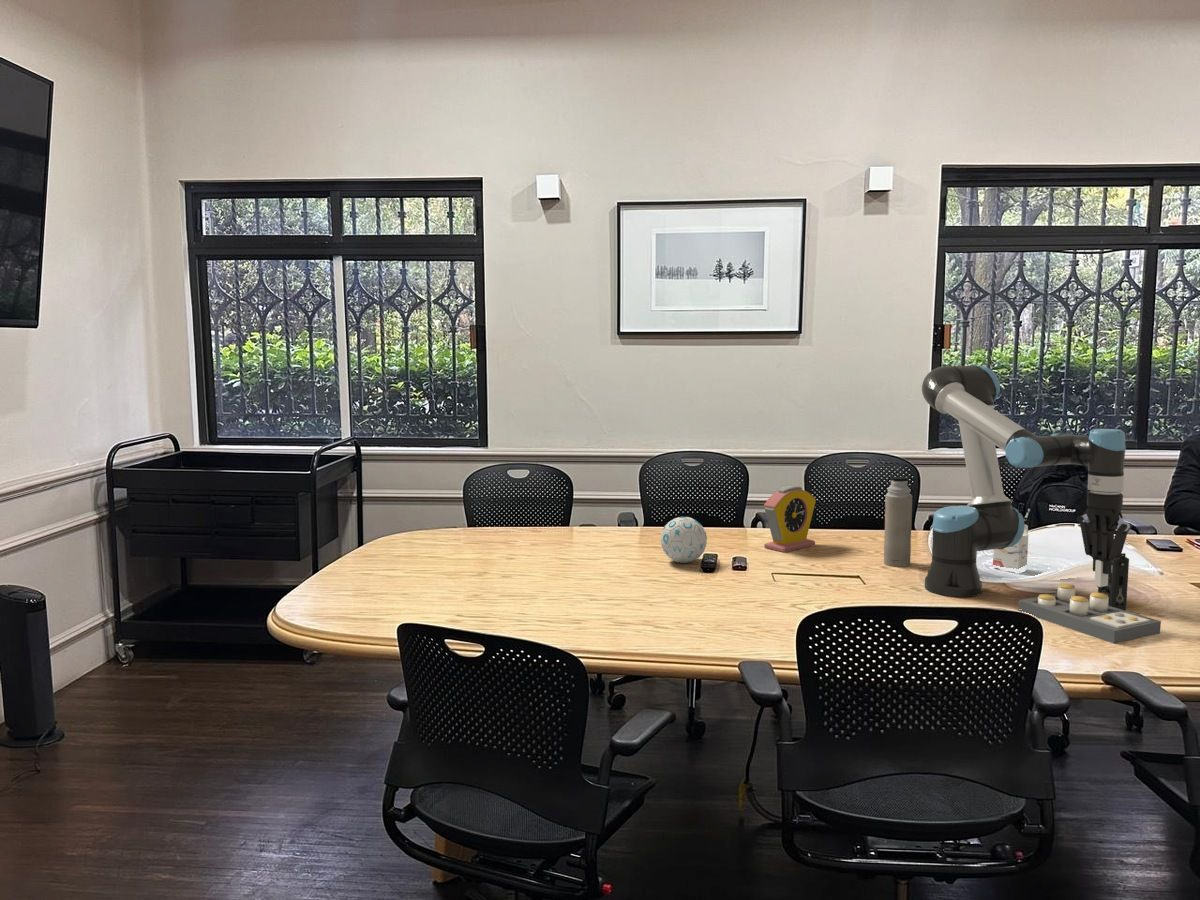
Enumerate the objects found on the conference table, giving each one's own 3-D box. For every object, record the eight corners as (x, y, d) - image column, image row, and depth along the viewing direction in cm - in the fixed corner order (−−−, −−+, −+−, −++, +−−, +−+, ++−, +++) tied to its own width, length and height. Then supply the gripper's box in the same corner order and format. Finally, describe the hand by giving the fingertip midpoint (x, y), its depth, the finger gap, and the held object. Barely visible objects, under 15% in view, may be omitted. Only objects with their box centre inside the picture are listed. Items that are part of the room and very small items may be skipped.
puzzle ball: (661, 556, 277) (661, 512, 276) (706, 556, 276) (706, 512, 274) (660, 567, 262) (660, 521, 261) (707, 568, 261) (707, 522, 259)
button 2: (1053, 599, 214) (1054, 584, 214) (1064, 597, 216) (1065, 582, 215) (1067, 604, 210) (1068, 588, 210) (1078, 602, 212) (1079, 586, 211)
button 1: (1033, 611, 212) (1034, 595, 211) (1044, 608, 213) (1045, 593, 213) (1047, 615, 208) (1048, 599, 208) (1058, 613, 210) (1059, 597, 209)
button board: (1018, 611, 213) (1019, 597, 213) (1062, 603, 219) (1062, 589, 219) (1113, 643, 189) (1114, 627, 189) (1160, 633, 195) (1161, 618, 195)
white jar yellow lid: (1065, 613, 203) (1066, 597, 203) (1076, 611, 205) (1077, 595, 204) (1080, 618, 200) (1081, 601, 199) (1091, 615, 201) (1092, 599, 201)
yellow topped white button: (1085, 609, 206) (1086, 593, 205) (1096, 607, 207) (1097, 591, 207) (1100, 614, 202) (1101, 597, 202) (1111, 612, 204) (1112, 595, 203)
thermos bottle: (879, 563, 262) (881, 477, 259) (890, 559, 268) (893, 474, 265) (903, 568, 257) (905, 480, 253) (914, 563, 262) (917, 477, 259)
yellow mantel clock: (778, 554, 277) (779, 491, 274) (758, 549, 284) (758, 488, 282) (820, 544, 290) (821, 484, 287) (799, 539, 297) (800, 481, 295)
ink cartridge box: (991, 568, 255) (993, 522, 253) (1001, 566, 257) (1002, 520, 256) (1018, 574, 247) (1020, 526, 246) (1027, 572, 250) (1029, 524, 248)
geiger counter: (1091, 598, 223) (1094, 544, 221) (1110, 599, 222) (1113, 545, 220) (1108, 610, 213) (1111, 554, 211) (1127, 611, 212) (1131, 554, 210)
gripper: (1070, 489, 206) (1066, 581, 208) (1120, 496, 194) (1115, 594, 196) (1091, 487, 209) (1087, 577, 211) (1141, 494, 197) (1137, 590, 199)
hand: (1101, 585), depth 204 cm, fingers closed
